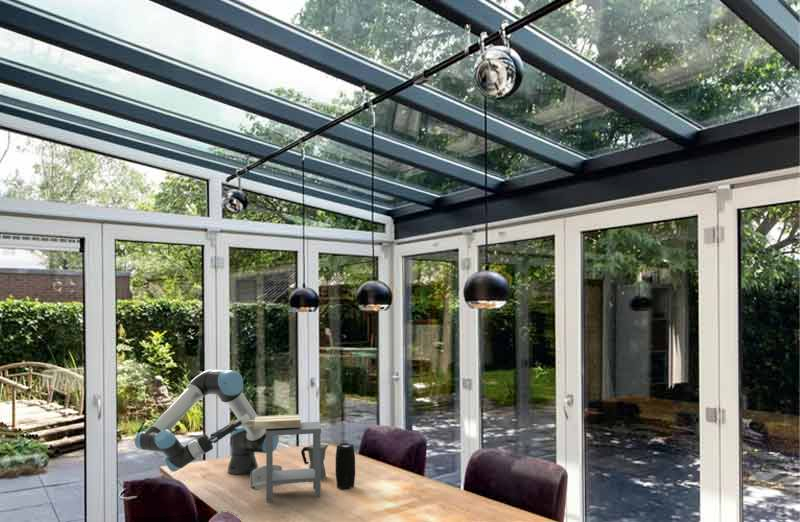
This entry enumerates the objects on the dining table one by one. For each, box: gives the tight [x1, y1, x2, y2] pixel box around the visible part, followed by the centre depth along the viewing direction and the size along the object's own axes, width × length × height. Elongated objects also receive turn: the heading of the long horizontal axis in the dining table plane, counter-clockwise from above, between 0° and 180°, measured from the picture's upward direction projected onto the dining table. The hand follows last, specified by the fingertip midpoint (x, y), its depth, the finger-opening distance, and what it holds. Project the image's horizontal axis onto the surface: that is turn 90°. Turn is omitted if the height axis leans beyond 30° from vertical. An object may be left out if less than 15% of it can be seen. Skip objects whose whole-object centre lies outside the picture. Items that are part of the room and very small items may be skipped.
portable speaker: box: [335, 442, 356, 491], centre depth 287 cm, size 9×9×20 cm
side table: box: [265, 421, 322, 503], centre depth 279 cm, size 18×24×30 cm
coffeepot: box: [300, 443, 329, 480], centre depth 306 cm, size 15×9×18 cm, turn 129°
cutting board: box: [228, 414, 301, 429], centre depth 278 cm, size 16×31×3 cm, turn 101°
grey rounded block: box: [249, 464, 283, 490], centre depth 294 cm, size 17×5×10 cm, turn 129°
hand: (248, 416), depth 276 cm, fingers closed on cutting board, 4 cm apart
